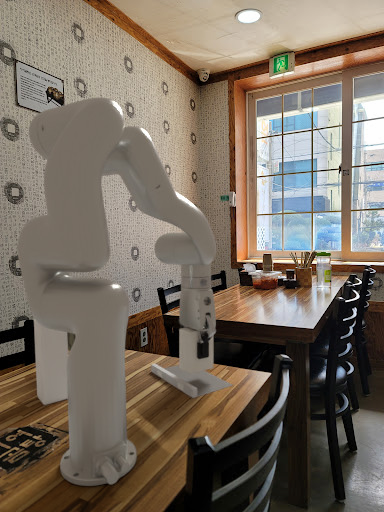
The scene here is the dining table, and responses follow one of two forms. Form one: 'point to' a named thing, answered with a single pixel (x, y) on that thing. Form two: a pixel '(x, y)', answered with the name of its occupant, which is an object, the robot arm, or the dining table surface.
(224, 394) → the dining table surface
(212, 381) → the shelf board
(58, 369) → the milk
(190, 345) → the carton
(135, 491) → the dining table surface
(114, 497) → the dining table surface
